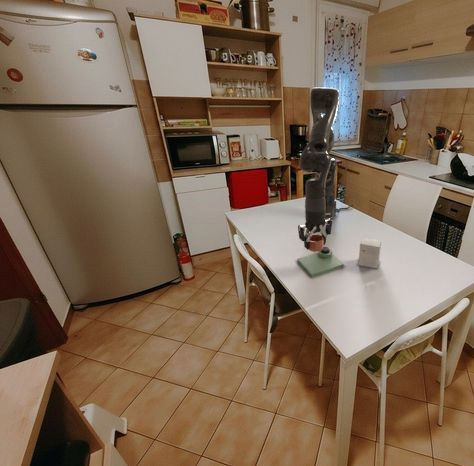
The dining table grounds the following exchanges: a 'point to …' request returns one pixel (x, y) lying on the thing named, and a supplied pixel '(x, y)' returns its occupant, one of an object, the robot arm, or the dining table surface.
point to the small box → (369, 253)
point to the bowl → (316, 243)
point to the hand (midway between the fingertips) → (315, 246)
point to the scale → (320, 263)
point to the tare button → (325, 250)
